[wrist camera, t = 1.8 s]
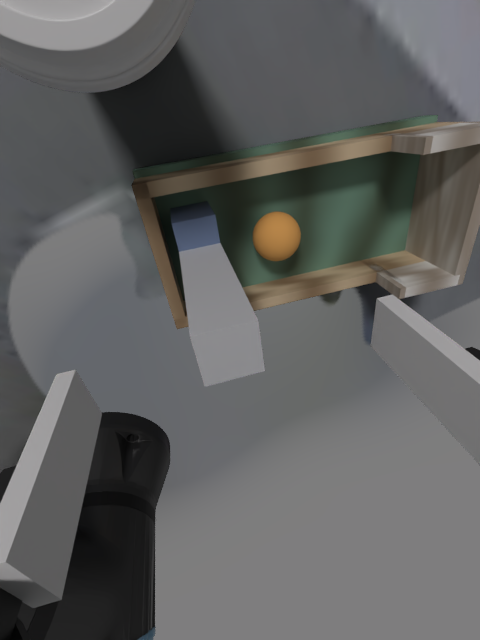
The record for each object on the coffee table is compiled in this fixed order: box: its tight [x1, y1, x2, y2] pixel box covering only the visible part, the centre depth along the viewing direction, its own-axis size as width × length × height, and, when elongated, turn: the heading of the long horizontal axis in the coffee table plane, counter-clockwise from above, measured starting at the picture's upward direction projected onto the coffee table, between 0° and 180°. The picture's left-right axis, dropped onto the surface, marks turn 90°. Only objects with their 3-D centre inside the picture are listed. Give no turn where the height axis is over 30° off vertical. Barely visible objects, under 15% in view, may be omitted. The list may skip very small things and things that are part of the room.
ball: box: [253, 212, 301, 261], centre depth 26 cm, size 4×4×4 cm
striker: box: [170, 201, 265, 387], centre depth 20 cm, size 3×7×15 cm, turn 8°
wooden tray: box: [132, 115, 480, 329], centre depth 26 cm, size 25×13×8 cm, turn 98°
